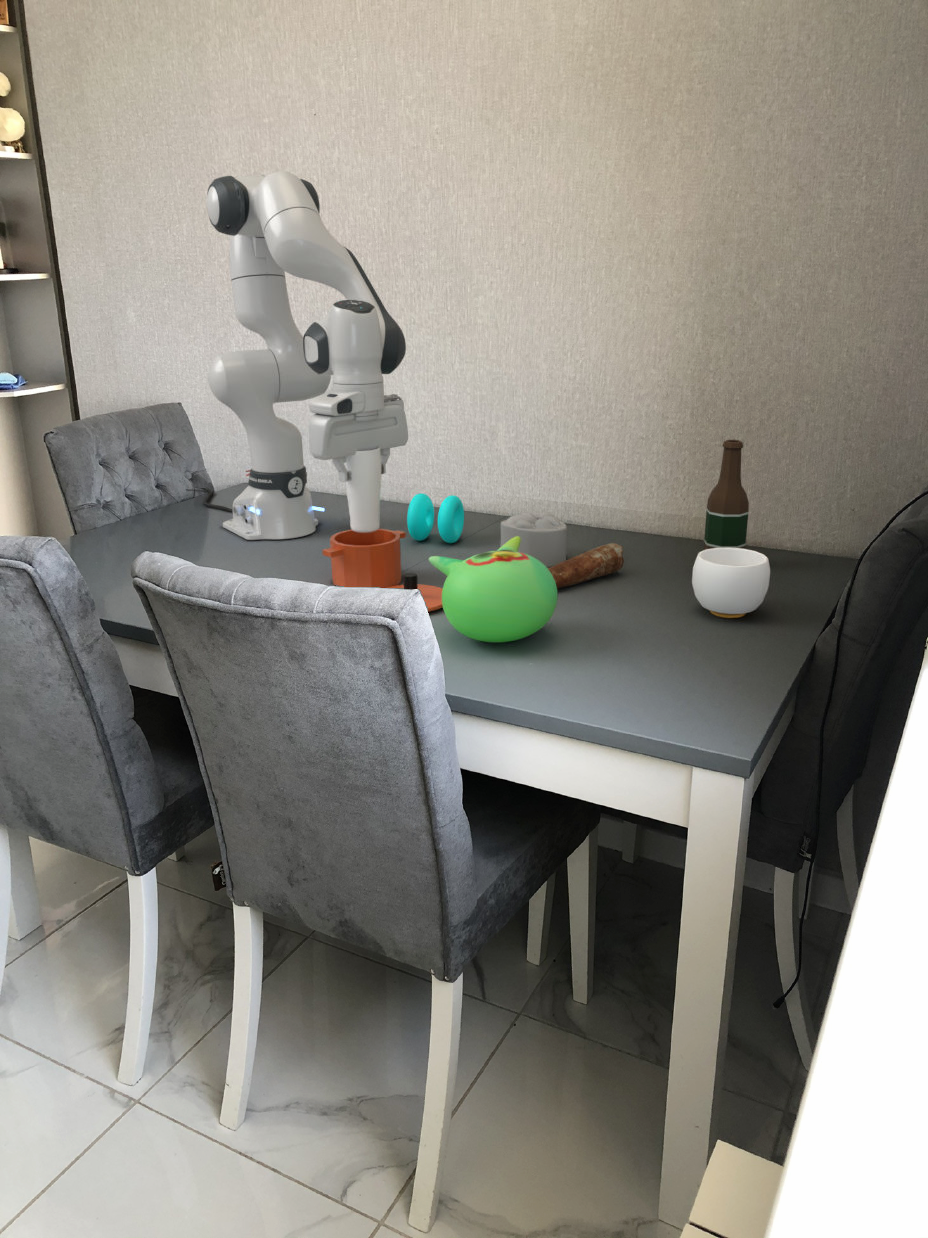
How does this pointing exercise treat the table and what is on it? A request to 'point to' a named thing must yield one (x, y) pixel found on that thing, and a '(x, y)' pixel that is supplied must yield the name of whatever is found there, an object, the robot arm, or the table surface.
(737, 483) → the beer bottle
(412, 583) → the lid
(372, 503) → the drinking glass
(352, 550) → the pot
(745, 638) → the table surface
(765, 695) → the table surface
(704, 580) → the cup
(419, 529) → the donuts
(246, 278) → the robot arm
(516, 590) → the toy bird
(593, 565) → the cassava root
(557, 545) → the lumpy-topped squat cylinder
